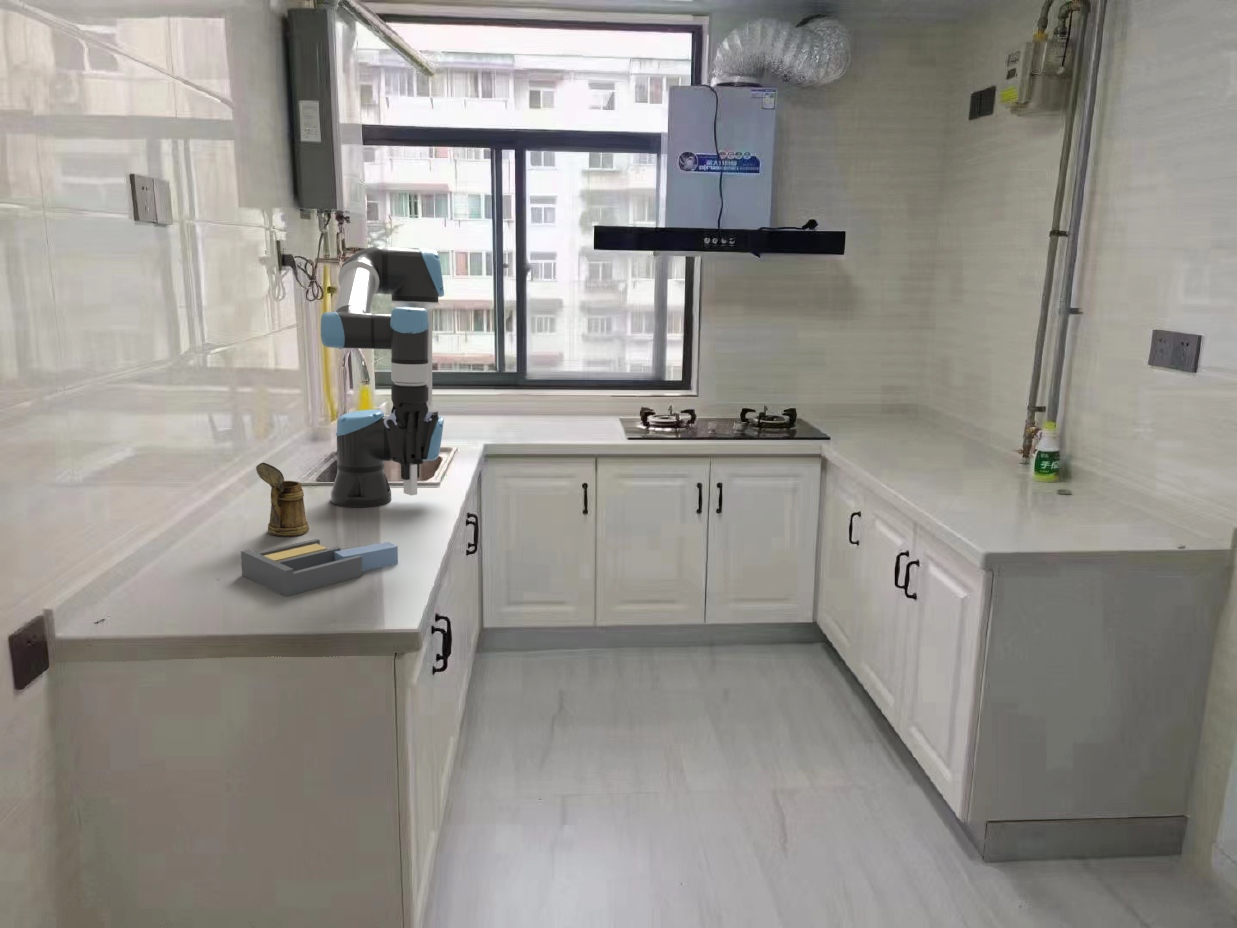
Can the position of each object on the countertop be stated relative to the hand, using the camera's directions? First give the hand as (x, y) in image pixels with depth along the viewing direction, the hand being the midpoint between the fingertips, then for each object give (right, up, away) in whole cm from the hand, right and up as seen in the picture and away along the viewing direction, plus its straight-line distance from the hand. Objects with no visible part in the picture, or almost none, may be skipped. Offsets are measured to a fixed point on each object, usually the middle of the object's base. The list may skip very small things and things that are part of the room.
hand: (410, 493), depth 191 cm
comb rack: (-19, -16, -13) cm, 28 cm away
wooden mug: (-32, -10, +13) cm, 36 cm away
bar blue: (-8, -15, -6) cm, 18 cm away
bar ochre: (-21, -15, -9) cm, 28 cm away
